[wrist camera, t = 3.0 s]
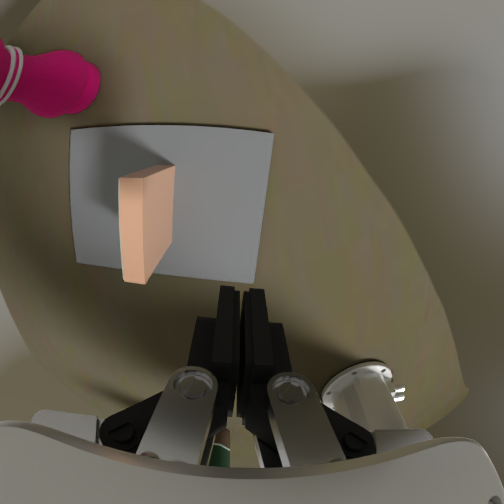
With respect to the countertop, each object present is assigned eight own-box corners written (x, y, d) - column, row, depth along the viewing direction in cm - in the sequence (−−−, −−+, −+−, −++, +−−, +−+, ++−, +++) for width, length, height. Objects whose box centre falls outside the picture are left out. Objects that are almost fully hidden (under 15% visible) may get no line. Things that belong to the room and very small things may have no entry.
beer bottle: (197, 439, 45) (189, 538, 23) (185, 421, 42) (171, 533, 20) (234, 438, 45) (234, 541, 23) (225, 421, 42) (223, 538, 20)
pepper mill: (115, 86, 21) (-37, 53, 3) (70, 130, 23) (-79, 156, 4) (89, 47, 19) (-40, 3, 1) (48, 90, 20) (-85, 91, 2)
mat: (273, 133, 24) (274, 133, 24) (253, 281, 31) (253, 283, 30) (73, 129, 23) (71, 129, 22) (79, 260, 29) (76, 262, 28)
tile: (175, 165, 25) (143, 178, 16) (172, 241, 28) (145, 284, 20) (156, 164, 25) (117, 177, 16) (155, 240, 28) (123, 281, 19)
